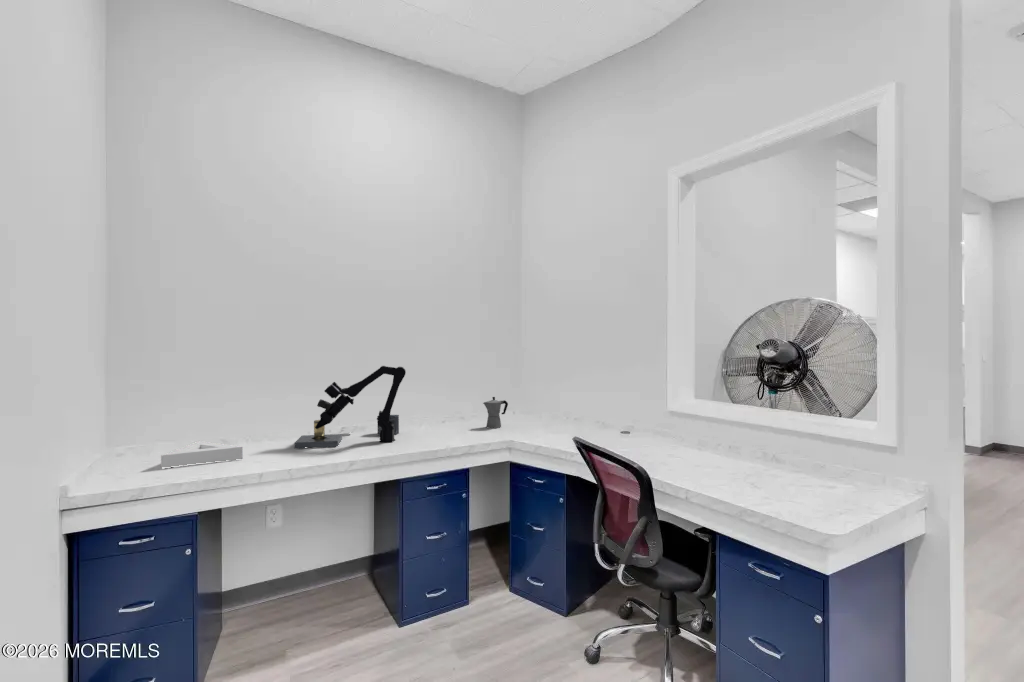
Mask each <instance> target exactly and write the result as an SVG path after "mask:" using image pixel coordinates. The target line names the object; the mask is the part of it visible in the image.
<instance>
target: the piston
mask: <svg viewBox="0 0 1024 682" xmlns="http://www.w3.org/2000/svg"><path fill="white" fill-rule="evenodd" d="M319 421H320V419H315V420H313V435H314V439H315V440H317V439H325V435H326V434H325V433H326V430H325V428H326V427H325V426H326V425H324V426H322V427H320V428H318V429H316V428H315V427H316V425H317V424H318V422H319Z"/></svg>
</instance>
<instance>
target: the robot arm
mask: <svg viewBox="0 0 1024 682" xmlns="http://www.w3.org/2000/svg"><path fill="white" fill-rule="evenodd" d="M383 375H390V376H393V379H392V383H391V387H390V390H389V393H388V396H387V399H386V402H385V405H384V407H383V409H382V410H379V412H378V415H377V416H378V417H376V420H377V426H378V425H379V426H380V427H381V428H382V429H381V432H380V435H379V443H393V442H394V441H396V439H395V435H394V429H392V428H393V423H392V422H391V421H390V420H389V419H390V415H391V411H392V408H393V406H394V405H393V404H394V402H395V399H396V397H397V393H398V390H399V387H400V385H401V383H402V382H403V380H404V378H405V376H406V369H405V368H404V366H397V367H392V366H386V365H381V366H380V367H379V368H378V369H376V370H375V371H373V372H372V373H371V374H369V375H368V376H366V377H365V378H364V379H362V380H360V381H358V382H356V383H353V384H352V385H351V384H350V386H348V387H343V388H341V386H339V385H338V383H337V382H335V381H333V382H332V383H331V384H330V385H328V386H327V388H326V389H324V393H326V394H327V396H328V397H330V398H331V399H335V401H333V402H332V403H331V402H328V401H326V400H324V399H319V401H318V403H317V405H316V406H317V407H318V408H322V409H324V411H322V413H320V414H319V417H320V419H319V420H320V421H319V422H318V424H317V425H316V427H315V428H316V429H318V428H320V427H322V426H324V425H325V426H326V425H328V424H331V423H332V422H333V420H334V419H335V418H336V417H338V415H339V414H340V413H341V412H342V411H343V410H344V409H345V407H347V406H348V405H349V404H351V405H354V403H355V401H354V400H355V399H354V398H355V397H357V396H358V395H359V394H360V393H361V392H362V391H363V390H364V389H365V388H366V387H368V385H370V384H371V383H373V382H374V381H375V380H377V379H379V378H380V377H381V376H383ZM337 397H338V398H337ZM336 398H337V399H336ZM392 441H393V442H392Z"/></svg>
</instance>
